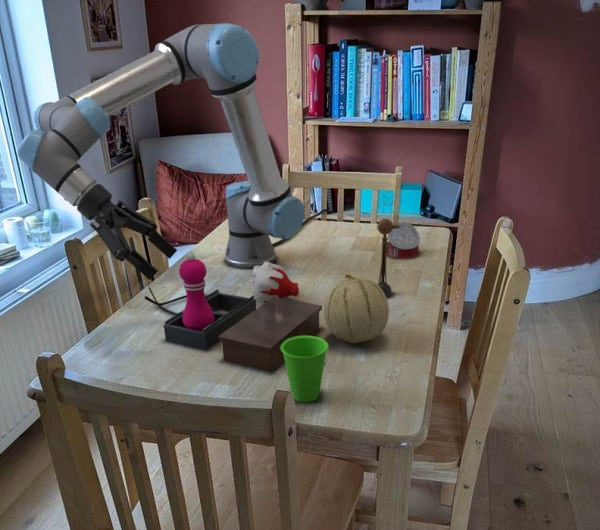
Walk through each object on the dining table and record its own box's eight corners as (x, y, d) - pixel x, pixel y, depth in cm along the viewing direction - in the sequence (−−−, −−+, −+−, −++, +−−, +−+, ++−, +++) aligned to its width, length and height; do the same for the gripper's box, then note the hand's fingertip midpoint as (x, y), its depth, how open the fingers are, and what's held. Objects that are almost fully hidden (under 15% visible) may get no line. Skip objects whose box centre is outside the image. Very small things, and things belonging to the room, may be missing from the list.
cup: (281, 385, 129) (278, 336, 123) (325, 382, 129) (325, 333, 124) (284, 409, 121) (281, 358, 115) (331, 406, 122) (331, 355, 116)
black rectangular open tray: (218, 306, 164) (217, 288, 162) (256, 314, 160) (255, 295, 157) (165, 340, 148) (162, 321, 145) (206, 350, 143) (204, 330, 141)
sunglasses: (155, 294, 172) (152, 277, 170) (208, 294, 171) (206, 277, 169) (138, 320, 158) (135, 302, 155) (196, 320, 157) (193, 301, 155)
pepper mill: (210, 343, 146) (200, 259, 136) (180, 341, 147) (168, 257, 137) (219, 330, 152) (211, 248, 142) (191, 328, 153) (180, 247, 143)
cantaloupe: (370, 360, 137) (372, 295, 129) (311, 345, 144) (310, 282, 136) (398, 334, 148) (402, 272, 140) (343, 321, 155) (343, 261, 147)
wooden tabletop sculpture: (394, 290, 170) (398, 215, 160) (396, 297, 166) (400, 221, 156) (372, 291, 170) (374, 216, 160) (373, 298, 166) (376, 221, 156)
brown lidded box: (274, 319, 157) (273, 296, 153) (322, 328, 151) (322, 305, 148) (220, 361, 139) (217, 336, 135) (272, 373, 133) (270, 347, 130)
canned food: (414, 264, 200) (432, 238, 194) (401, 271, 193) (419, 244, 186) (387, 243, 203) (404, 216, 197) (373, 248, 195) (390, 221, 189)
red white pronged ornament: (254, 286, 174) (306, 298, 171) (237, 302, 165) (292, 315, 161) (256, 255, 169) (309, 267, 166) (239, 269, 160) (295, 282, 156)
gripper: (100, 193, 148) (171, 257, 154) (50, 224, 127) (134, 297, 133) (118, 169, 144) (190, 236, 150) (70, 197, 123) (155, 273, 129)
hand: (164, 264), depth 142 cm, fingers open, 13 cm apart
